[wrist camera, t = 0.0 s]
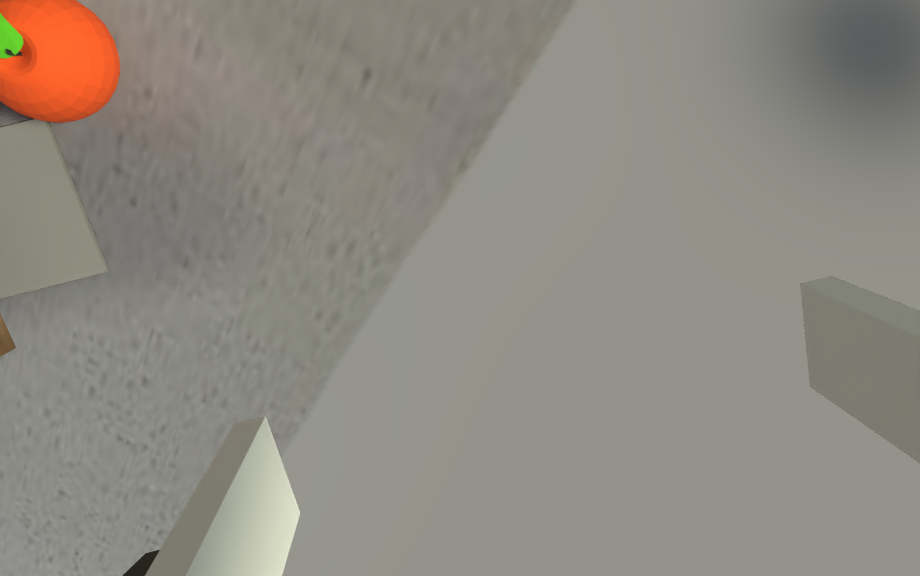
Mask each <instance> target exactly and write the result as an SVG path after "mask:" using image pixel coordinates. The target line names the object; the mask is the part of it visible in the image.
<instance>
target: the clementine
mask: <svg viewBox="0 0 920 576" xmlns="http://www.w3.org/2000/svg"><path fill="white" fill-rule="evenodd" d="M119 75H120V62H119V56H118V52H117V49H116V45H115V42H114V40H113V38H112V36H111V34H110V33H109V31H108V29H107V27H106V26H105V25H104V23H103V22H102V21H101V20H100V19H99V18H98V17H97V16H96V15H95V14H94V13H93V12H92V11H91V10H89V9H88V8H86V7H85V6H83V5H82V4H80V3H79V2H77V1H76V0H0V101H1V102H2V103H3V104H5V105H7V106H8V107H10V108H11V109H13V110H14V111H16V112H18V113H19V114H22V115H25V116H28V117H31V118H33V119H37V120H41V121H48V122H58V123H63V122H69V121H75V120H80V119H83V118H85V117H87V116H90V115H92V114H94V113H96V112H98V111H99V110H100V109H101V108H102V107H103V106H104V105H105V104H106V103H108V102H109V100H110V98H111V96H112V95H113V93H114V91H115V89H116V87H117V83H118V79H119Z"/></svg>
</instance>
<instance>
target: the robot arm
mask: <svg viewBox="0 0 920 576" xmlns="http://www.w3.org/2000/svg"><path fill="white" fill-rule="evenodd" d="M800 286H801V296H802V307H803V317H804V329H805V340H806V350H807V361H808V372H809V382H810V387H811V388H812V389H814V390H815V391H817V392H818V393H820V394H821V395H823V396H824V397H825V398H827V399H828V400H830V401H831V402H832V403H834V404H835V405H837V406H838V407H840V408H841V409H843V410H844V411H845V412H847V413H848V414H850V415H851V416H853V417H854V418H856V419H857V420H858V421H860V422H861V423H863V424H864V425H865V426H867V427H868V428H870V429H871V430H873V431H874V432H875V433H877V434H878V435H880V436H881V437H883V438H884V439H886V440H887V441H888V442H890V443H891V444H893V445H894V446H896V447H897V448H898V449H900V450H901V451H903V452H904V453H906V454H907V455H909V456H910V457H911V458H913V459H914V460H916V461H917V462H919V463H920V310H917V309H915V308H912V307H910V306H907V305H905V304H902V303H900V302H897V301H894V300H892V299H889V298H887V297H884V296H882V295H879V294H877V293H874V292H871V291H869V290H866V289H864V288H861V287H859V286H856V285H854V284H851V283H849V282H846V281H843V280H841V279H838V278H836V277H833V276H829V277H825V278H821V279H817V280H813V281H809V282H805V283H801V284H800ZM299 515H300V511H299V508H298V506H297V503H296V500H295V497H294V494H293V492H292V489H291V486H290V483H289V480H288V478H287V475H286V472H285V469H284V466H283V464H282V461H281V458H280V455H279V452H278V450H277V447H276V444H275V441H274V438H273V436H272V433H271V430H270V427H269V425H268V422H267V419H266V416H264V417H260V418H256V419H252V420H248V421H244V422H240V423H236V424H234V425H233V427H232V429H231V430H230V432H229V434H228V435H227V437H226V439H225V441H224V442H223V444H222V446H221V447H220V449H219V451H218V452H217V454H216V456H215V457H214V459H213V461H212V463H211V464H210V466H209V468H208V469H207V471H206V473H205V474H204V476H203V478H202V480H201V481H200V483H199V485H198V486H197V488H196V490H195V491H194V493H193V495H192V497H191V498H190V500H189V502H188V503H187V505H186V507H185V508H184V510H183V512H182V514H181V515H180V517H179V519H178V520H177V522H176V524H175V525H174V527H173V529H172V531H171V532H170V534H169V536H168V537H167V539H166V541H165V542H164V544H163V546H162V547H161V549H160V550H157V551H153V552H149V553H146V554H145V555H144V556H142V557H141V558H140V559H139V560H138V561H137V562H136V563H135V564H134V565H133V566H132V567H131V568H130V569H129V570H128V571H127V572H126V573H125V574H124V575H123V576H282V574H283V570H284V567H285V563H286V560H287V556H288V553H289V549H290V546H291V543H292V539H293V536H294V533H295V529H296V526H297V522H298V519H299Z"/></svg>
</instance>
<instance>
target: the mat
mask: <svg viewBox="0 0 920 576" xmlns="http://www.w3.org/2000/svg"><path fill="white" fill-rule="evenodd" d="M108 271H109V270H108V267H107V265H106V262H105V260H104V257H103V255H102V252H101V250H100V248H99V245H98V243H97V240H96V238H95V235H94V233H93V230H92V228H91V225H90V223H89V220H88V218H87V215H86V213H85V211H84V208H83V206H82V203H81V201H80V198H79V196H78V193H77V191H76V188H75V186H74V183H73V181H72V178H71V176H70V174H69V171H68V169H67V166H66V164H65V161H64V159H63V156H62V154H61V151H60V149H59V146H58V144H57V142H56V139H55V137H54V134H53V132H52V129H51V127H50V124H49V122H48V121H41V120H37V119H32V120H28V121H24V122H20V123H16V124H12V125H8V126H4V127H0V299H1V298H5V297H9V296H13V295H17V294H21V293H25V292H29V291H33V290H37V289H41V288H45V287H49V286H53V285H57V284H61V283H66V282H70V281H74V280H78V279H82V278H86V277H90V276H94V275H98V274H102V273H106V272H108Z"/></svg>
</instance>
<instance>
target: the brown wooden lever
mask: <svg viewBox="0 0 920 576" xmlns="http://www.w3.org/2000/svg"><path fill="white" fill-rule="evenodd" d="M14 348H16V347H15V345H14V342H13V340H12V338H11V336H10V334H9V332H8V329H7V327H6V325H5V323H4V321H3V319H2V316H1V314H0V357H1V356H2V355H4V354H6V353H8V352H9V351H11V350H13V349H14Z"/></svg>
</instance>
